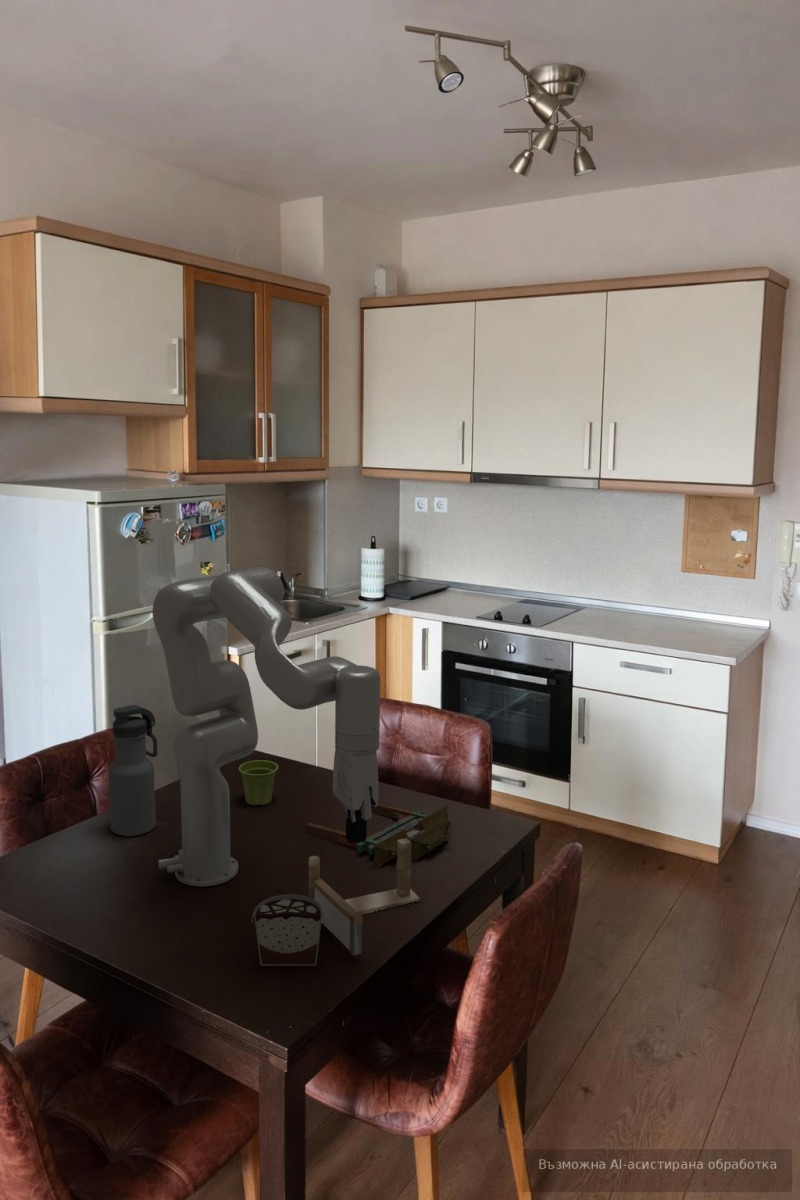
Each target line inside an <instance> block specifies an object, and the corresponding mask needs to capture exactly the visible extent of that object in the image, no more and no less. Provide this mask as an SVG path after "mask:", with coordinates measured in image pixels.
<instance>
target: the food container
mask: <svg viewBox="0 0 800 1200" xmlns="http://www.w3.org/2000/svg"><path fill="white" fill-rule="evenodd" d="M322 916H323V919H324V923H325V917H324V912H323V909H322V907H321V905H320V904H319V903H318V902H317V901H316V900H314V899H312V898H310V897H309V896H306V895H302V894H291V893H290V894H281V895H280V894H279V895H275V896H272V897H269V898H267V899H264V900H263V901H261V902H260V903H259V904H258V905H256V906H255V908H254V911H253V914H252V917H251V922H250V923H253V922H254V924H255V934H256V939H257V948H258V956H259V964H260V966H262V967H263V966H264V967H267V966H269V967H277V966H279V967H283V966H285V967H286V966H287V967H289V966H290V967H292V966H293V967H297V966H298V967H299V966H300V967H301V966H302V967H305V966H306V967H307V966H308V967H309V966H310V967H313V966H315V967H316V966H317V962H318V954H319V944H320V936H321V927H322V924H321V921H322Z"/></svg>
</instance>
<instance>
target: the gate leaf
mask: <svg viewBox="0 0 800 1200" xmlns="http://www.w3.org/2000/svg"><path fill="white" fill-rule="evenodd" d="M313 886H314V887H315V900H316V901H317V902H318V903H319V904H320V905H321V907H322V909H323V912H324V917H325V923H324V919H323V916H322V921H321V922H322V924H323V925H324V926H325V927H326V929H327V930H328V931H330V932H331V933H332V934H333V936H335V937H336V939H338V941H340V942H341V943H342V944H343V946H345V948H347V949H348V951H349V953H350V954H351V955H352V956H353V957H354V956H357V955H360V954H363V952H362V950H363V923H364V921H363V920H364V918H363V917H364V916H363V915H360V914H359V913H358V912H357V911H356V910H355V909H354V908H353V907H351V906H350V905H349V904H348V903H347V902H346V901H345V900H346V899H344V898H343V897H342V896H341V895H339V894H338V893H337V892H336V891H335V890H334V889H333V888H332V887H331V886H330V885H329V884H328V883H326V881H324V880H323V879H322V878H320V879H318V880H315V881H313Z"/></svg>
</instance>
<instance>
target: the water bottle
mask: <svg viewBox="0 0 800 1200" xmlns="http://www.w3.org/2000/svg"><path fill="white" fill-rule="evenodd" d="M139 714H141V716H142V717H140V716H135V715H139ZM113 716H114V719H115V720H114V721H112V736H113V738H114V754H115V755H114V757H115V759H114V761H113V762H112V763H110V765H109V767H108V770H107V773H108V774H107V777H108V778H107V780H108V799H109V800H108V801H109V821H110V822H109V823H110V824H109V825H110V830H111V831H113V832H114V833H113V832H112V833H113V834H115V833H116V834H115V835H117V834H119V835H118V836H120V835H123V836H122V837H128V836H129V837H136V836H135V835H138V836H141V834H142V835H144V834H143V833H145V834H147V833H149V832H151V831H152V830H153V829H154V828H155V827H156V823H157V818H156V791H155V784H156V783H155V768H154V763H153V762H152V761H151V760H150V759H148V758H147V756H149V757H151V758H155V757H158V738H157V737H156V735H155V734H153V727H155V725H156V718H155V716H154V714H153V713H152V711H150V710H149V709H147V708H145V707H143V706H140V705H137V704H136V705H135V704H133V705H127V706H126V705H125V706H122V707H116V708H114V709H113ZM146 736H148V737H150V738H151V740H152V747H153V748H152V749H153V752H151V751H149V750H147V749H146V748H147V747H146ZM150 830H151V831H150ZM146 832H147V833H146Z"/></svg>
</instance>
